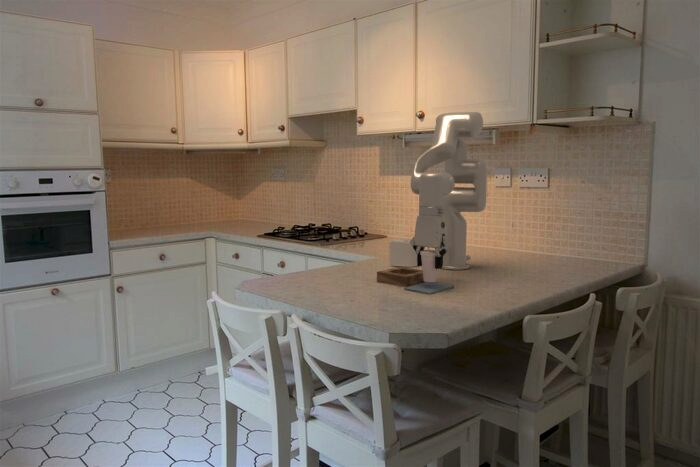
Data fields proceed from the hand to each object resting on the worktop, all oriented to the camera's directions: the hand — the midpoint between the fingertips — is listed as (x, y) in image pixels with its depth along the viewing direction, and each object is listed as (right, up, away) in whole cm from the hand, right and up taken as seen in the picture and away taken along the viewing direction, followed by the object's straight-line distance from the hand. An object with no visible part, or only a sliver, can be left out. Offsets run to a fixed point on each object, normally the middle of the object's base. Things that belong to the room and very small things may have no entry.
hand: (429, 266), depth 175 cm
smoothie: (0, -5, +1) cm, 5 cm away
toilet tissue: (-3, -2, +44) cm, 44 cm away
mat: (0, -7, +1) cm, 7 cm away
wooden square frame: (-7, -6, +12) cm, 15 cm away
